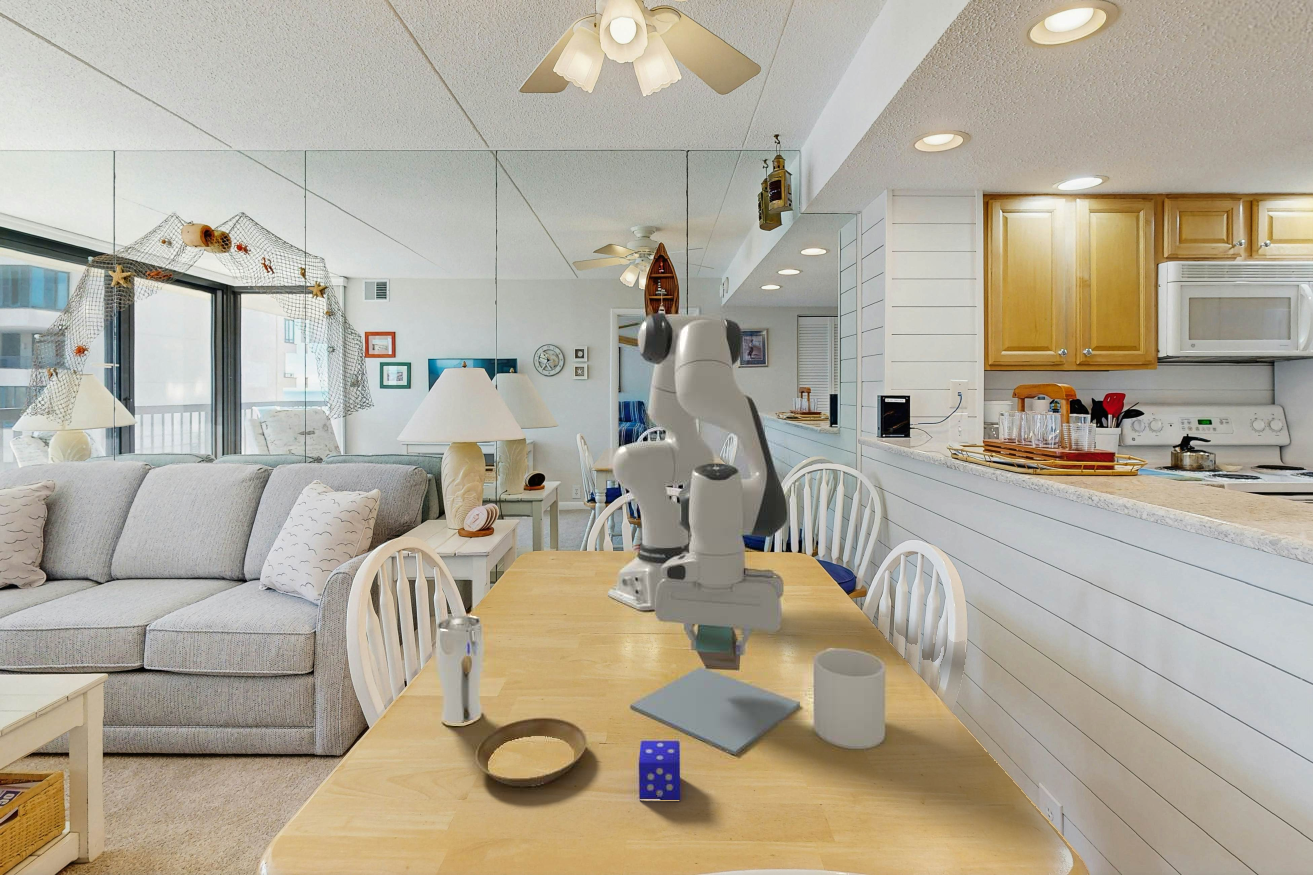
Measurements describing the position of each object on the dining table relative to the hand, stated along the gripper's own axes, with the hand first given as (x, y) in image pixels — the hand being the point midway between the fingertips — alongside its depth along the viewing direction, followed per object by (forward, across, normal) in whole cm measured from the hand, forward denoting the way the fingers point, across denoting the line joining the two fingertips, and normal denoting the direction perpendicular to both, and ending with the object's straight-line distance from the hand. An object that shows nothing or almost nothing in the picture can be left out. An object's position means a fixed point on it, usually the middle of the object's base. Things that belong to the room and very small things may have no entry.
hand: (718, 651), depth 99 cm
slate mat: (+8, 0, +2) cm, 8 cm away
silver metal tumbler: (+8, +37, +15) cm, 41 cm away
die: (+9, +3, +24) cm, 25 cm away
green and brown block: (+2, 0, -3) cm, 4 cm away
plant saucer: (+9, +21, +23) cm, 32 cm away
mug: (+9, -20, +2) cm, 21 cm away
